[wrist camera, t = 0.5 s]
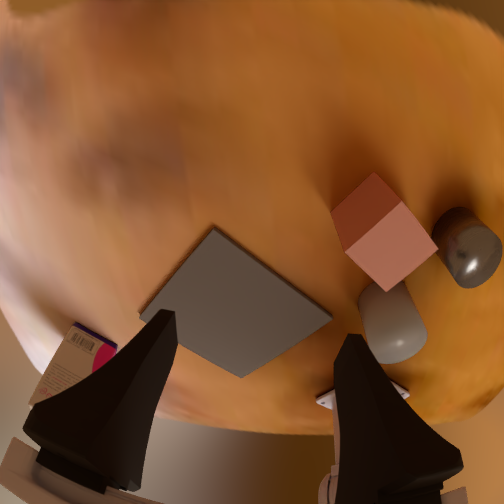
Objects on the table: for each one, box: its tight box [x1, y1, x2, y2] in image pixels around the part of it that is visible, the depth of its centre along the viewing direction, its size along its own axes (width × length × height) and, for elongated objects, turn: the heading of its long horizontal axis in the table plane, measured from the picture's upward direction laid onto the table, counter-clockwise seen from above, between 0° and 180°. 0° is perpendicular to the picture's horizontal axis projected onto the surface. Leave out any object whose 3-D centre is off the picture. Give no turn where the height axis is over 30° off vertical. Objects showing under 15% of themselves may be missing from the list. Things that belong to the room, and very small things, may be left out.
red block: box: [330, 172, 438, 292], centre depth 17 cm, size 4×4×5 cm
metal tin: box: [432, 207, 502, 288], centre depth 17 cm, size 4×4×4 cm
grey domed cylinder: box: [358, 281, 427, 364], centre depth 20 cm, size 4×4×5 cm
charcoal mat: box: [139, 227, 333, 378], centre depth 24 cm, size 12×12×1 cm
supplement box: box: [28, 322, 118, 409], centre depth 25 cm, size 6×6×12 cm
